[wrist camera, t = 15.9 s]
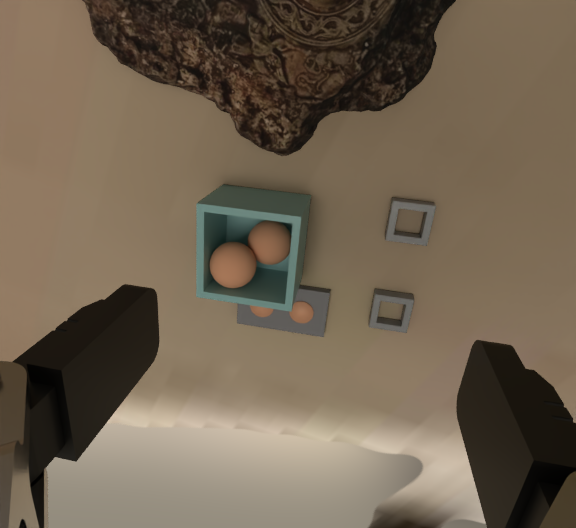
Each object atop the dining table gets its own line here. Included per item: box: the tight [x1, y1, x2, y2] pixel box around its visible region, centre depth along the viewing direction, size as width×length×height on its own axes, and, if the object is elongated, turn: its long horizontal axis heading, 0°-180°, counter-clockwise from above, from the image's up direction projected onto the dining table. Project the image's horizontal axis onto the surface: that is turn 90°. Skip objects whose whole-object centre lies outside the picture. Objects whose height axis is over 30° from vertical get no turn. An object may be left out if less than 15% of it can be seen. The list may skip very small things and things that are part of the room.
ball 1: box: [210, 242, 257, 288], centre depth 36 cm, size 4×4×4 cm
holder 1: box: [385, 197, 436, 246], centre depth 37 cm, size 4×4×1 cm
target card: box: [237, 285, 330, 337], centre depth 43 cm, size 9×5×1 cm, turn 85°
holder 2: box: [369, 289, 414, 333], centre depth 41 cm, size 4×4×1 cm
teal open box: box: [196, 184, 311, 312], centre depth 37 cm, size 8×8×7 cm
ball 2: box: [248, 220, 292, 265], centre depth 38 cm, size 4×4×4 cm
